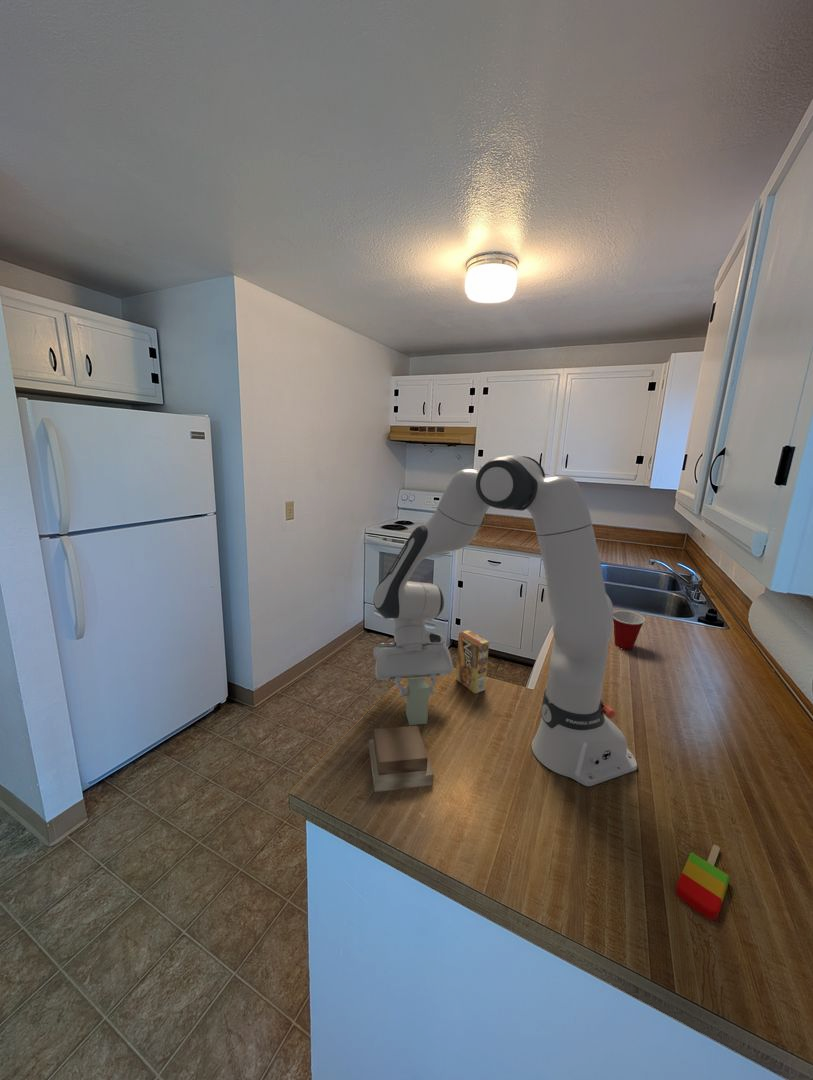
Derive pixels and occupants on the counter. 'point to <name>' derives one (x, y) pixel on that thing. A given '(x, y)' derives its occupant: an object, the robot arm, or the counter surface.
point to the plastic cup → (626, 628)
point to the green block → (417, 701)
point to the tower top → (399, 750)
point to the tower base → (398, 776)
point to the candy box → (472, 661)
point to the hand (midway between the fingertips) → (417, 695)
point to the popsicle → (703, 884)
